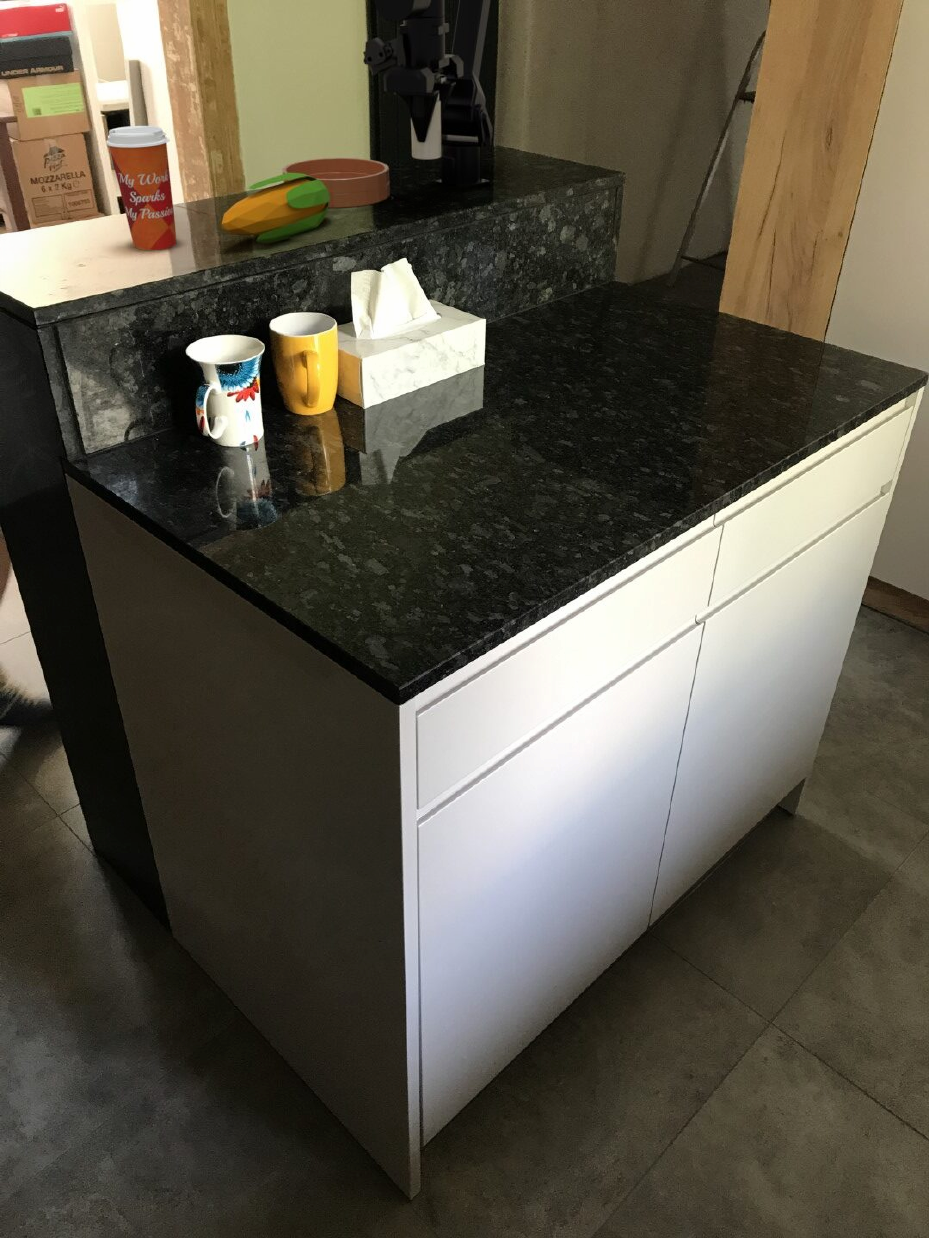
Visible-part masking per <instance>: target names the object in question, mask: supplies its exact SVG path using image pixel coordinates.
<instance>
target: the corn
mask: <svg viewBox="0 0 929 1238" xmlns="http://www.w3.org/2000/svg"><path fill="white" fill-rule="evenodd" d="M295 178H297V179H295ZM289 179H293V180H290V181H287V182H284V183H283V181H284V180H289ZM279 182H281V183H279ZM276 183H278V184H276ZM272 184H275V185H272ZM268 185H272V186H269V187H266V188H263V187H265V186H268ZM259 188H263V189H260V190H258V191H257V192H255V193H253V194H250V195H249V196H247V197H245V198H243V199H241V200H239V201H237V202H235V203H234V204H233V205H232V206H231V207H230V208H229V209H228V210H226V212H224V213H223V217H222V221H221V228H222V229H223V230H224V231H226V232H227V233H228V234H230V235H237V236H253V237H257V239H256V241H255V242H256V243H261V244H263V243H275V242H280V241H283V240H287V239H288V240H289V239H292V238H293V237H294V236H293V235H297V234H300V233H304V232H307V231H311V230H314V229H317V228H318V227H319V226H320V225H321V223H322V222H323V221H324V220H325V217H326V215H327V213H328V209H329V208H328V201H329V200H330V196H329V192H328V190H327V188H326V186H325V185H324V184H323V183H322V182H321V181H318V180H317V179H315V178H313V177H310V176H308V175H305V174H302V173H286V174H283V173H282V174H280V175H277V176H273V177H270V178H267V179H264V180H261V181H258V182H255V183H253V184H252V185H250V186H249V187H248V188H247V189H249V190H256V189H259Z"/></svg>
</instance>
